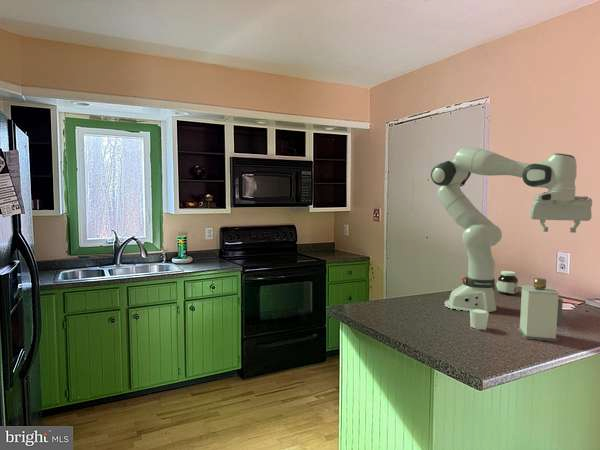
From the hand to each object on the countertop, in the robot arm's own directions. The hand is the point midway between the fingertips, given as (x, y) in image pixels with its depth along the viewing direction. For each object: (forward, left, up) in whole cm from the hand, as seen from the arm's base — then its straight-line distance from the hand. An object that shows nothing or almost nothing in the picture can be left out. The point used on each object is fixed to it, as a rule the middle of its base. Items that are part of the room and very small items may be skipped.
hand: (559, 231), depth 160 cm
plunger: (-8, -11, -37) cm, 39 cm away
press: (-7, -11, -38) cm, 40 cm away
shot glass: (-28, -8, -39) cm, 49 cm away
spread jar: (-5, +58, -39) cm, 70 cm away
